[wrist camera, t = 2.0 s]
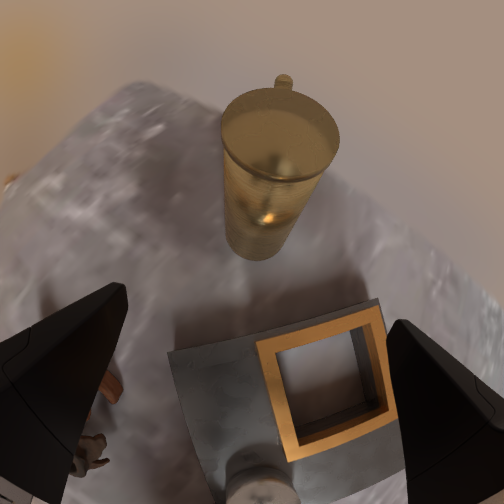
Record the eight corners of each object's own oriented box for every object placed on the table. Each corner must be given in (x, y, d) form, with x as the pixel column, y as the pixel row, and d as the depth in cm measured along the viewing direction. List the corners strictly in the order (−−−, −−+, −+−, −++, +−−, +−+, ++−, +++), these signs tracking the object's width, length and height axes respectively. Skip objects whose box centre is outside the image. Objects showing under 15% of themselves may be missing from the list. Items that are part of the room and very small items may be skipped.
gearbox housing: (227, 513, 16) (227, 548, 11) (173, 350, 21) (156, 355, 15) (395, 457, 19) (427, 476, 13) (364, 301, 23) (398, 291, 18)
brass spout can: (283, 266, 23) (341, 186, 11) (219, 257, 23) (209, 164, 11) (290, 185, 25) (333, 74, 13) (233, 176, 25) (239, 57, 13)
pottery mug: (157, 408, 20) (115, 482, 12) (106, 433, 22) (70, 487, 14) (56, 296, 18) (-18, 338, 10) (26, 345, 20) (-26, 383, 12)
